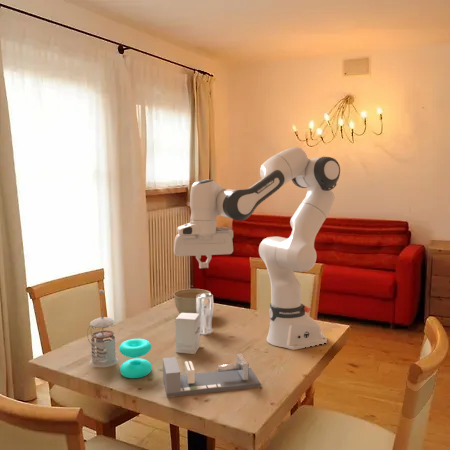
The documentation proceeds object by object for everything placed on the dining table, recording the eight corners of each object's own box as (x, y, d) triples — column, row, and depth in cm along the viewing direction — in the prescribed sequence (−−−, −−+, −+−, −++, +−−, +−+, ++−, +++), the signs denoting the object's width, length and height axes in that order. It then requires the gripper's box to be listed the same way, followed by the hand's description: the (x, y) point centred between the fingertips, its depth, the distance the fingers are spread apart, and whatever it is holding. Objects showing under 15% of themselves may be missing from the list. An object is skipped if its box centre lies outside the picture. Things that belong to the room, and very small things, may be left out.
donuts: (132, 351, 143) (112, 343, 150) (133, 382, 145) (113, 373, 151) (157, 342, 151) (137, 334, 157) (158, 372, 152) (138, 363, 159)
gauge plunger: (242, 368, 150) (242, 353, 149) (249, 379, 142) (249, 363, 141) (215, 371, 148) (215, 355, 147) (220, 382, 140) (220, 366, 139)
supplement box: (195, 354, 166) (195, 319, 164) (175, 352, 167) (174, 318, 166) (200, 346, 173) (200, 313, 171) (181, 345, 174) (180, 312, 173)
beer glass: (204, 327, 192) (204, 292, 191) (217, 331, 188) (217, 295, 186) (192, 332, 187) (192, 295, 185) (205, 336, 183) (205, 299, 181)
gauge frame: (250, 371, 152) (250, 349, 151) (260, 386, 141) (260, 364, 140) (163, 380, 146) (162, 358, 145) (166, 397, 135) (166, 373, 134)
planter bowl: (205, 325, 196) (205, 299, 195) (168, 322, 200) (168, 297, 198) (215, 313, 211) (215, 289, 210) (181, 310, 215) (180, 287, 214)
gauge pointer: (191, 373, 145) (191, 360, 145) (194, 382, 139) (194, 369, 138) (185, 374, 145) (184, 361, 144) (188, 383, 138) (187, 370, 138)
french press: (103, 370, 154) (100, 295, 150) (79, 362, 160) (75, 290, 156) (124, 359, 162) (122, 288, 159) (100, 352, 168) (97, 284, 165)
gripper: (231, 225, 165) (231, 264, 167) (172, 227, 160) (173, 267, 162) (235, 227, 159) (235, 268, 161) (174, 230, 154) (175, 271, 156)
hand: (203, 267), depth 161 cm, fingers closed
